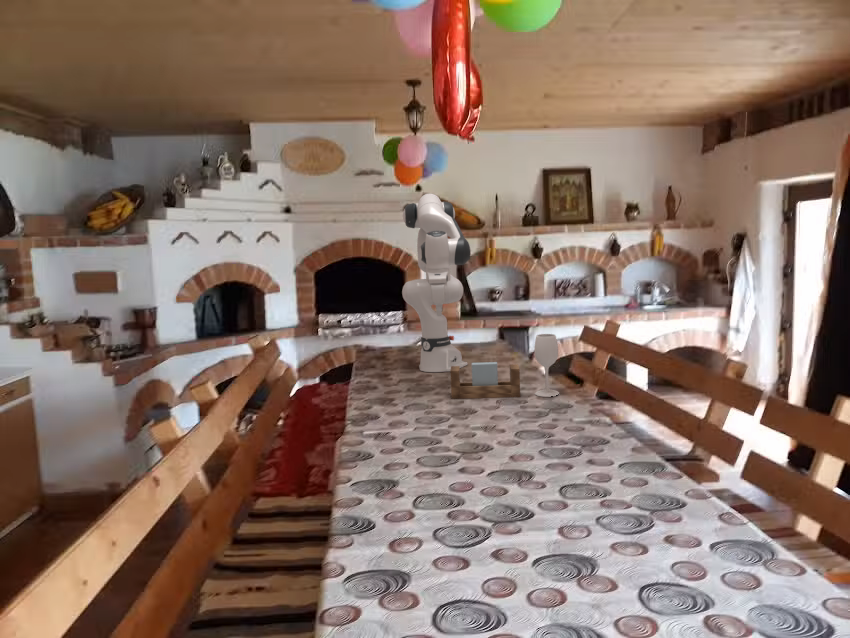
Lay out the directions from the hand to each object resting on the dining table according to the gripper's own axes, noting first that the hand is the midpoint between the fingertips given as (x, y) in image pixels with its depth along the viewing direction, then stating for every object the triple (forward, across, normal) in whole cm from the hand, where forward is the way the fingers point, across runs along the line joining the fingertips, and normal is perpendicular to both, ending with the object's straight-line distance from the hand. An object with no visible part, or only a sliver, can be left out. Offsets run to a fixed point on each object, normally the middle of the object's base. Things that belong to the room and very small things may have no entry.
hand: (439, 313), depth 239 cm
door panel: (+27, +10, +16) cm, 32 cm away
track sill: (+28, +10, +16) cm, 34 cm away
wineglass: (+28, +11, +37) cm, 48 cm away
